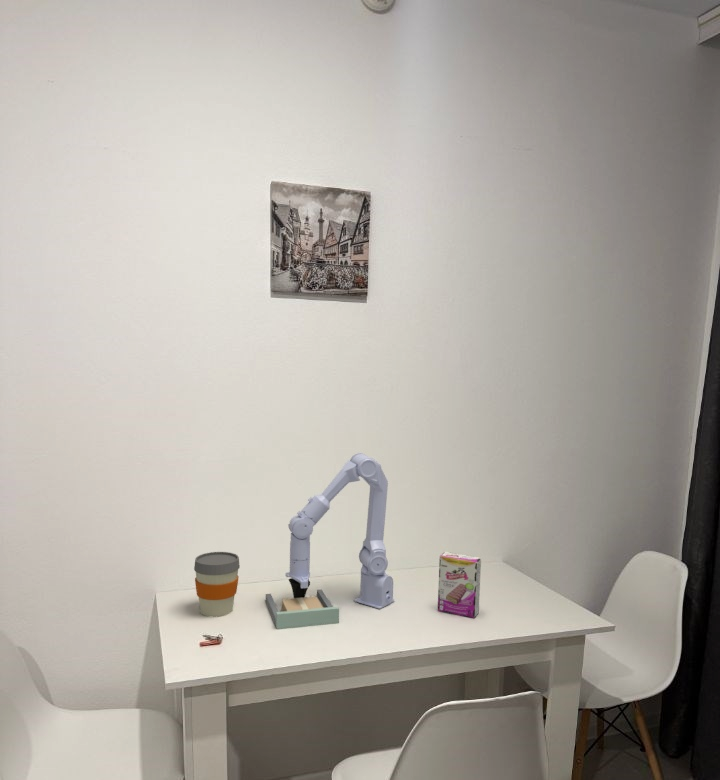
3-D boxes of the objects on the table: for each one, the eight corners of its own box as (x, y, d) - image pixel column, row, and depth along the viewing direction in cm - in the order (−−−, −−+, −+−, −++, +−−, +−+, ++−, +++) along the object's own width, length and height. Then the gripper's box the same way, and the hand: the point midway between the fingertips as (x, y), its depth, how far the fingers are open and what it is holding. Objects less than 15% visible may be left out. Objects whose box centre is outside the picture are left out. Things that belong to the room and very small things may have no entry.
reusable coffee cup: (200, 601, 187) (201, 550, 186) (243, 602, 187) (243, 552, 186) (187, 618, 174) (188, 564, 174) (233, 620, 174) (234, 566, 173)
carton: (281, 613, 181) (281, 599, 181) (315, 610, 184) (316, 596, 184) (287, 625, 172) (287, 611, 172) (323, 622, 175) (323, 607, 175)
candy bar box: (436, 611, 183) (438, 555, 183) (442, 605, 188) (443, 551, 187) (475, 619, 179) (477, 561, 178) (479, 613, 183) (481, 556, 182)
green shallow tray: (265, 600, 189) (265, 587, 188) (321, 595, 194) (321, 582, 193) (276, 629, 169) (277, 614, 169) (338, 622, 174) (339, 608, 174)
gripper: (281, 551, 189) (280, 596, 190) (290, 566, 175) (289, 615, 176) (305, 549, 191) (304, 594, 192) (315, 565, 177) (314, 613, 178)
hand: (298, 604), depth 184 cm, fingers closed
